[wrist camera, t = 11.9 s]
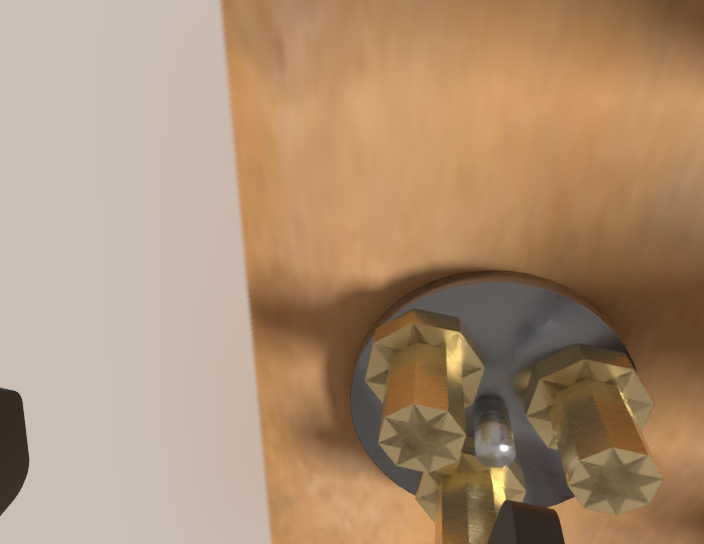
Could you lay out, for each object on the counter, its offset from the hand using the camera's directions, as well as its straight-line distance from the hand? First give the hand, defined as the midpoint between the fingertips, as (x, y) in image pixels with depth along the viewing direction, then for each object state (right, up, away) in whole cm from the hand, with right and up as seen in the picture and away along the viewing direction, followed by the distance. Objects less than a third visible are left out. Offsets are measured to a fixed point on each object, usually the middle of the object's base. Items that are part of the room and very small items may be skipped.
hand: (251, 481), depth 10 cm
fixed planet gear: (+17, -4, +28) cm, 33 cm away
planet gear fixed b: (+6, -2, +29) cm, 30 cm away
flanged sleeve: (+10, -11, +33) cm, 36 cm away
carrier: (+11, -5, +32) cm, 34 cm away
